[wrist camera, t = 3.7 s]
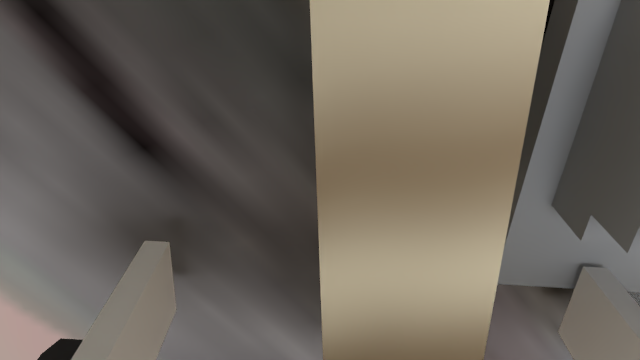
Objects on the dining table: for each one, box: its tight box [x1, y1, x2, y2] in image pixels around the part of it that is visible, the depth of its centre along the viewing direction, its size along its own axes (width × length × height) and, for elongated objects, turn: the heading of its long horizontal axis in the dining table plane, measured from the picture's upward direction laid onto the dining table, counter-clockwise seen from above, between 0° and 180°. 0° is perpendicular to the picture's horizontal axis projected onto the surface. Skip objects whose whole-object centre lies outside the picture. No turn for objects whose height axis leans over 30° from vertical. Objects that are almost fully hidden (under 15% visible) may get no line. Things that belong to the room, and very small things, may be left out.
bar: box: [310, 0, 550, 360], centre depth 11 cm, size 20×4×5 cm, turn 2°
